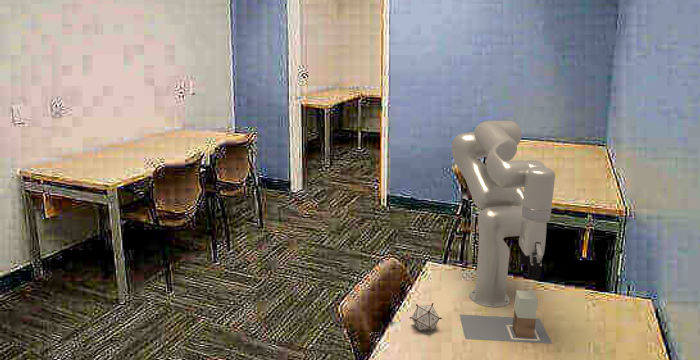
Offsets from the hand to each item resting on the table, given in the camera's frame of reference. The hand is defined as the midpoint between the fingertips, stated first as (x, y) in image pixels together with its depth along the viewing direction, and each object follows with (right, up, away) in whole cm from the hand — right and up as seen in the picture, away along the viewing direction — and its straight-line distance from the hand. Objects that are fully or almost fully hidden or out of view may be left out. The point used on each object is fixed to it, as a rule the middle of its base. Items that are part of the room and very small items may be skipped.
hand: (529, 270), depth 160 cm
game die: (-28, -19, +7) cm, 35 cm away
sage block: (0, -13, +4) cm, 13 cm away
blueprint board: (-5, -19, +8) cm, 21 cm away
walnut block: (0, -19, +5) cm, 19 cm away
